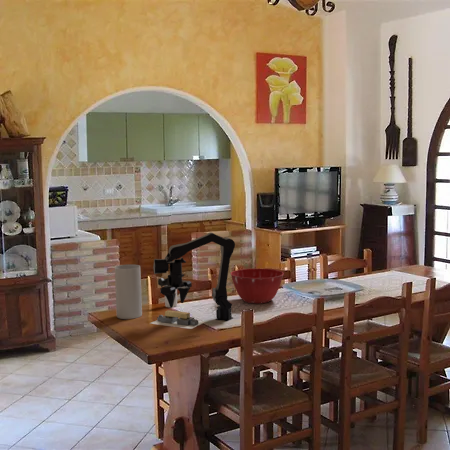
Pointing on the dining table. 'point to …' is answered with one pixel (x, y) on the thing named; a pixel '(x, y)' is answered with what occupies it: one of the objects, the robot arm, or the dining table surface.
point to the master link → (177, 314)
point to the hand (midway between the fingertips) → (176, 305)
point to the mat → (176, 324)
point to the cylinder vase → (128, 291)
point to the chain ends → (178, 320)
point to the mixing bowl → (257, 284)
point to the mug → (174, 300)
